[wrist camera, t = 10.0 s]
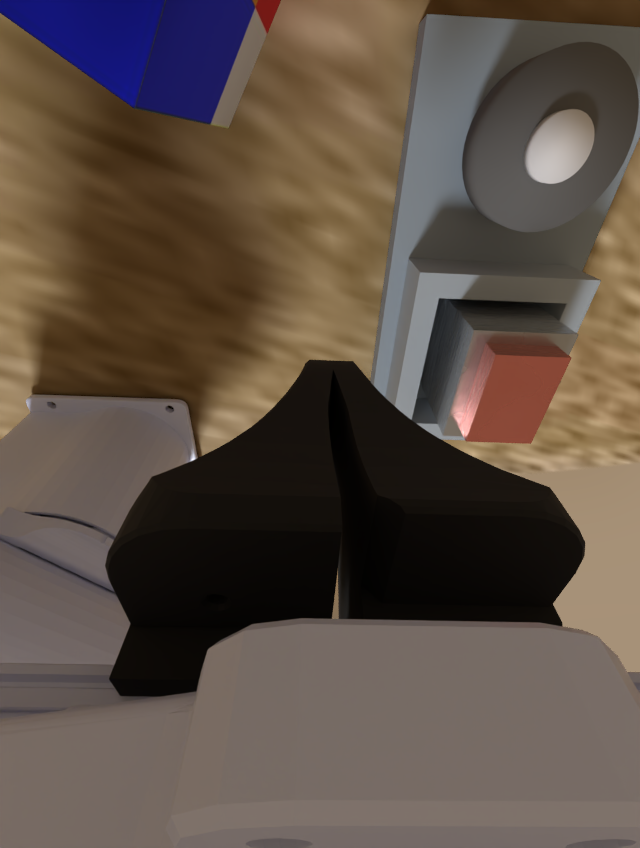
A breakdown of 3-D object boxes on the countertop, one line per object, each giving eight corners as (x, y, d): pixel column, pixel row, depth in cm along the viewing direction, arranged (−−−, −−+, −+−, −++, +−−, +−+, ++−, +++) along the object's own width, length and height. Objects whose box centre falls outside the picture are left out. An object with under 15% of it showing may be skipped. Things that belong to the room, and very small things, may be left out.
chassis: (366, 410, 24) (373, 448, 21) (419, 23, 14) (447, -11, 11) (508, 415, 24) (535, 453, 21) (659, 38, 14) (751, 9, 11)
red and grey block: (419, 380, 21) (448, 449, 16) (439, 289, 18) (483, 341, 14) (489, 383, 21) (540, 452, 17) (521, 293, 18) (594, 345, 14)
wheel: (447, 222, 16) (463, 231, 14) (484, 48, 13) (510, 32, 11) (571, 228, 16) (601, 237, 14) (636, 57, 13) (685, 43, 11)
